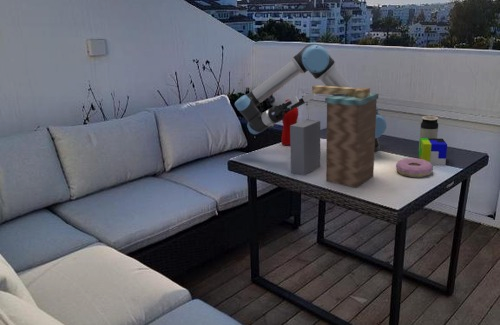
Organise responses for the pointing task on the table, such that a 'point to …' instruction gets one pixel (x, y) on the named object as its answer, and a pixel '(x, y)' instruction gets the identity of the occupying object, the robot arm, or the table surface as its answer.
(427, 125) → the travel mug
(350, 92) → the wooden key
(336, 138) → the laundry hamper
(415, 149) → the table surface
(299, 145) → the plinth
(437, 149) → the puzzle toy
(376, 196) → the table surface
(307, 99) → the robot arm
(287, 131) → the water bottle
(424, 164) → the donut
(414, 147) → the table surface
